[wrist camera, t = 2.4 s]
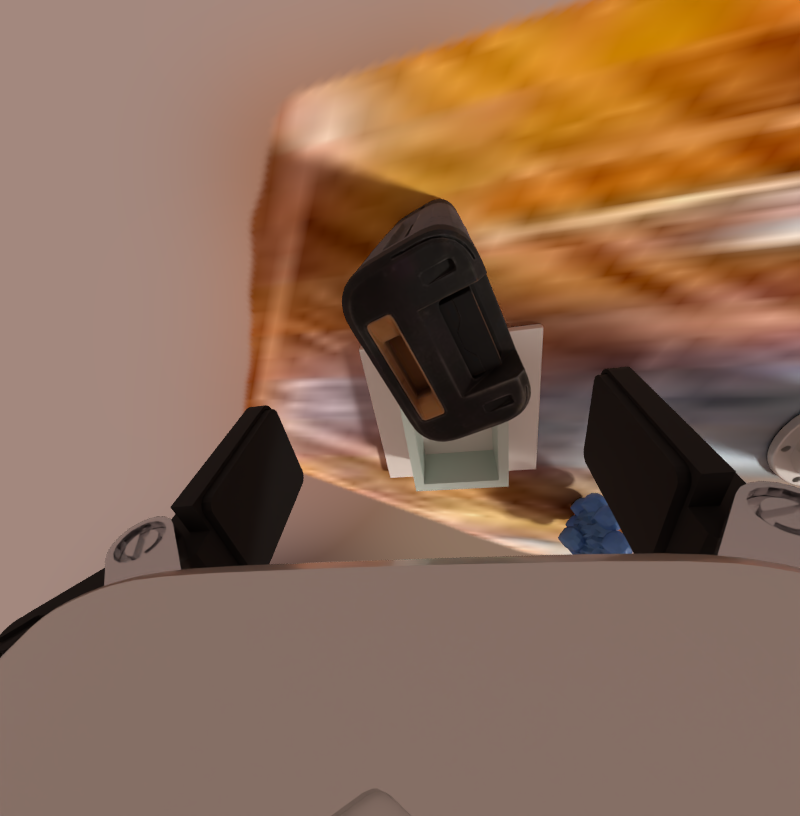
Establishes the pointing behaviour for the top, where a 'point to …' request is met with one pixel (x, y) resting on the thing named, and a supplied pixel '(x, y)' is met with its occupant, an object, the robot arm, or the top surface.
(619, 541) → the grapes
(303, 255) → the top surface
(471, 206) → the top surface
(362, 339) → the electronic device
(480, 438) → the dock
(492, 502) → the top surface
